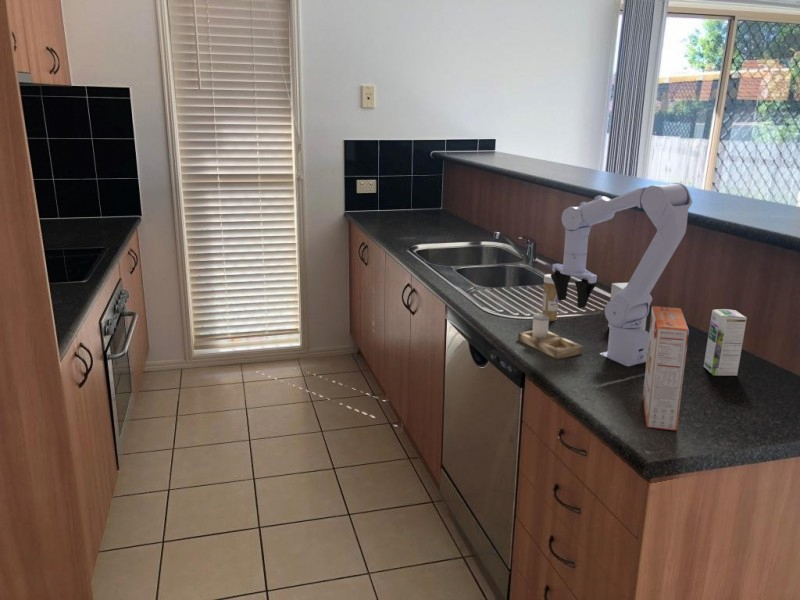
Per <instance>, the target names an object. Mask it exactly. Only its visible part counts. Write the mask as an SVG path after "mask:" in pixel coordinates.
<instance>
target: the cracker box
mask: <svg viewBox="0 0 800 600" xmlns="http://www.w3.org/2000/svg"><path fill="white" fill-rule="evenodd" d="M650 312H651V314H650V321H649V322H650V323H649V331H648V333H649V341H648V350H647V361H646V362H645V372H644V373H645V374H644V382H643V393H642V400H643V409H644V417H645V418H644V419H645V425H646V428H649V429H656V430H657V429H658V430H666V431H673V432H674V431H677V430H678V424H679V415H680V406H681V398H682V390H683V389H682V388H683V381H684V374H685V364H686V358H687V350H688V342H689V334H690V330H689V327H688V325H687V322H686V319H685V316H684V313H683V310H682V308H681V307H670V306H669V307H667V306H655V305H654V306H653V305H652V306H651V311H650Z"/></svg>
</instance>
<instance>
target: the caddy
mask: <svg viewBox="0 0 800 600" xmlns="http://www.w3.org/2000/svg"><path fill="white" fill-rule="evenodd" d="M517 334H518V336H517V341H520V342H522V343H524V344H525V345H528V346H530V347H531V348H534V349H536V350H538V351H540V352H542V353H544V354H546V355H548V356H550V357H552V358H554V359H557V360H559V359H564V358H569V357H572V356H577V355H581V354H583V350H584V348H583V347H584V346H583V345H581V344H579V343H577V342H574V341H572V340H570V339H568V338H565V337H562V336H561V335H559V334H557V333H554V332H551V331H549V330H548V338H546V339H541V340H538V339H536V338H533V337H532V330H527V331H521V332H518V333H517Z"/></svg>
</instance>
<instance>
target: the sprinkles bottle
mask: <svg viewBox="0 0 800 600" xmlns="http://www.w3.org/2000/svg"><path fill="white" fill-rule="evenodd" d="M551 274H552V273H547V274H544V275H543V292H542V293H543V294H542V307H541V308H542V310H541V311H542V312H541V314H544V315H548V316H549V322H552V321H557V320H558V310H559V300H558V297H557V292H556V287H555V284H554V282H553V280H552V278H551Z"/></svg>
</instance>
